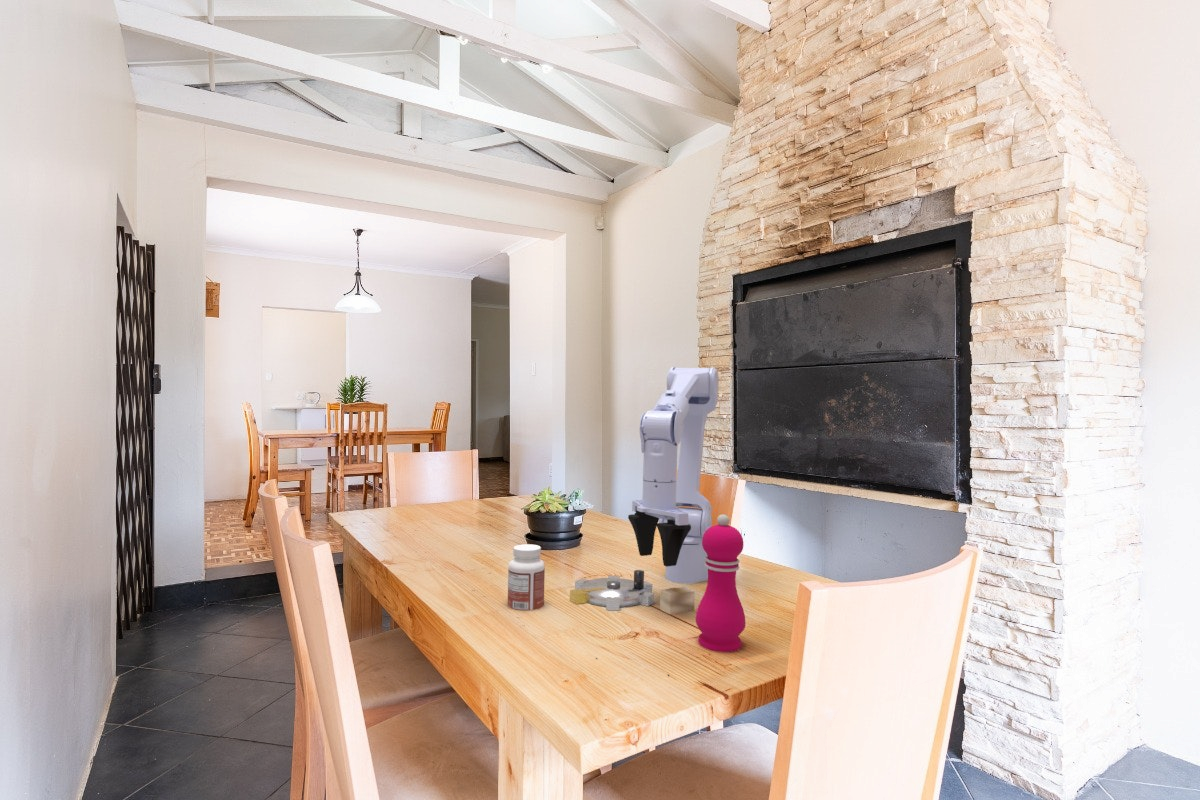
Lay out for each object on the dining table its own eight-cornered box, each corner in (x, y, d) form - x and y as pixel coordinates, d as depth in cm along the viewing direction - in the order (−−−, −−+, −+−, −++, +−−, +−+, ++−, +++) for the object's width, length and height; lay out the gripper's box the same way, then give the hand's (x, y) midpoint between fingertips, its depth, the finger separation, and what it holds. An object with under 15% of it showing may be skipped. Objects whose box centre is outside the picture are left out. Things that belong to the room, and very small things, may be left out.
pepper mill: (734, 664, 88) (738, 520, 88) (686, 652, 92) (690, 514, 92) (751, 648, 94) (755, 514, 94) (706, 637, 98) (709, 508, 98)
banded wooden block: (683, 606, 110) (684, 586, 110) (694, 612, 107) (694, 591, 107) (659, 610, 107) (660, 589, 107) (669, 616, 105) (670, 594, 105)
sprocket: (629, 581, 123) (630, 557, 123) (670, 602, 111) (671, 576, 111) (556, 590, 116) (556, 565, 116) (591, 614, 103) (592, 585, 103)
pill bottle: (536, 604, 112) (538, 541, 112) (549, 615, 106) (551, 549, 106) (502, 608, 109) (504, 544, 109) (513, 620, 103) (515, 552, 104)
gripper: (618, 476, 112) (616, 552, 112) (663, 486, 100) (661, 573, 100) (651, 475, 116) (649, 549, 116) (699, 485, 103) (697, 568, 103)
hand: (657, 560), depth 108 cm, fingers open, 7 cm apart
